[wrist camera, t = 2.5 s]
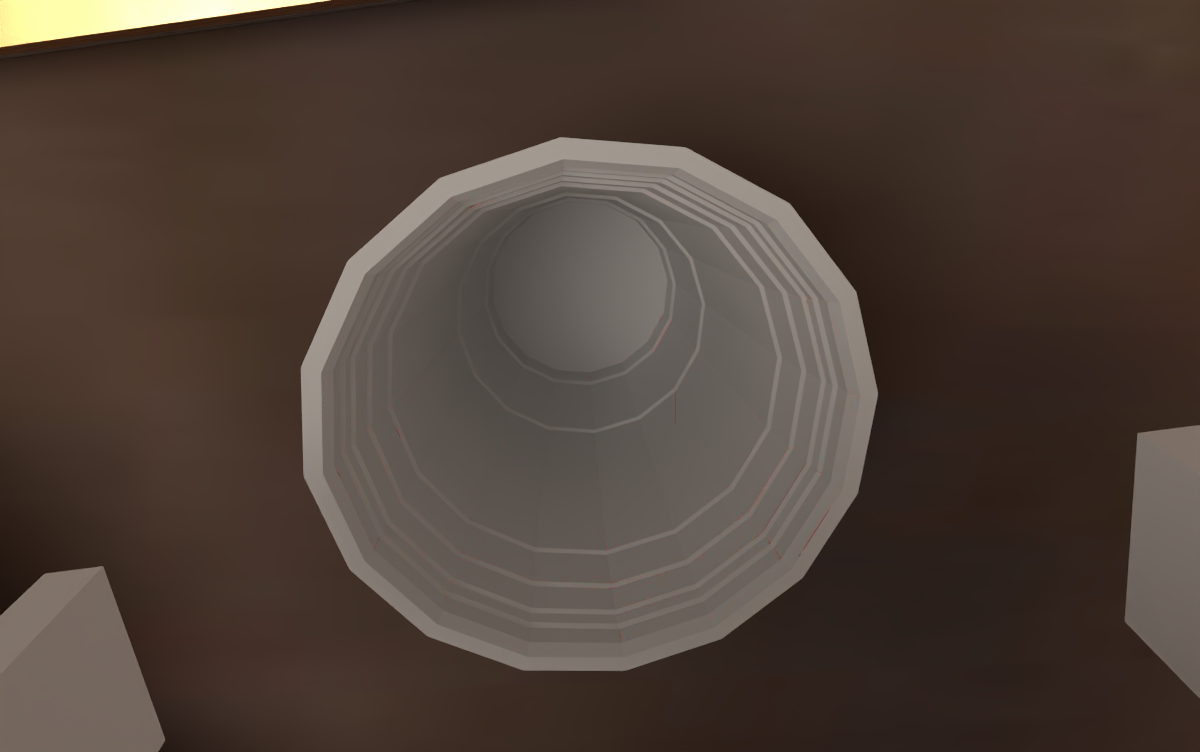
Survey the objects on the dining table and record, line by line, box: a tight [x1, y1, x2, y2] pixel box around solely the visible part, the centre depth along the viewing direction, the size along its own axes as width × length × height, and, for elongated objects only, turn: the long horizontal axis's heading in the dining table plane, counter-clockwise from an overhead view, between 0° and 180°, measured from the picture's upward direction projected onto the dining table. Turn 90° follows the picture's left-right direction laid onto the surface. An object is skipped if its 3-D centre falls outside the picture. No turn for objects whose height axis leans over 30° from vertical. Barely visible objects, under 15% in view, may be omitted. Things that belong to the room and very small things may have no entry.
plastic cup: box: [301, 137, 878, 671], centre depth 22 cm, size 11×11×12 cm
